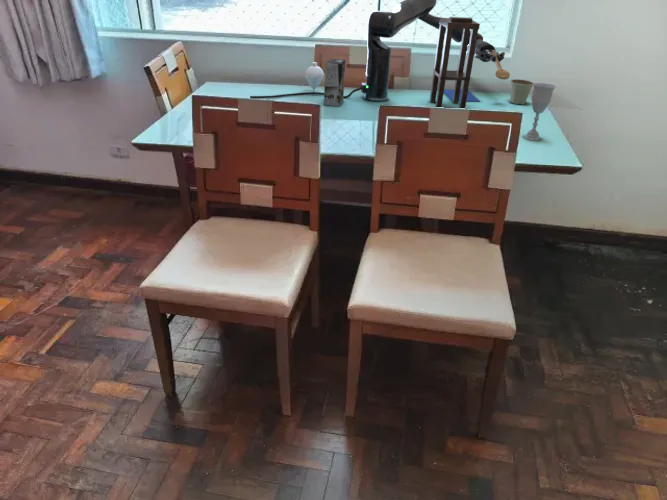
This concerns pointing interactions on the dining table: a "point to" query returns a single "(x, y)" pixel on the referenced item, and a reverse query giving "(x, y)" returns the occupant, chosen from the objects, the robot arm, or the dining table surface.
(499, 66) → the spoon
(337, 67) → the coffee box
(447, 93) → the cloth
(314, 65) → the spinning top
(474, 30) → the stand
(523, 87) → the flower pot
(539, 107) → the chalice
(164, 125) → the dining table surface
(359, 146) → the dining table surface
